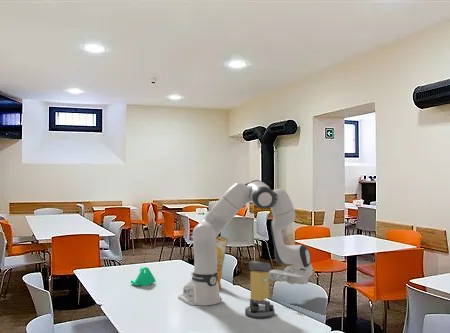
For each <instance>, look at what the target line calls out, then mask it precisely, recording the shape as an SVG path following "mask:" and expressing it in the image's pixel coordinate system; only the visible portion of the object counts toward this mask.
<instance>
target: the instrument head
mask: <svg viewBox="0 0 450 333" xmlns="http://www.w3.org/2000/svg"><path fill="white" fill-rule="evenodd" d="M248 268H249V270H250V299H253V303H258V304H259V305H264V306H265V302H267V301H268V300H266V299H269V298H270V287H269V286H270V284H269V280H270V279H269V271H270V270H272V269H271V268H272V267H271V264H270V262H264V261H256V260H250V261H249V262H248Z"/></svg>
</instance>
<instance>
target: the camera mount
mask: <svg viewBox="0 0 450 333" xmlns="http://www.w3.org/2000/svg"><path fill="white" fill-rule="evenodd" d="M154 283H156V278H155V277H154V275H153V273H152V271H151V270H150V269H149V267H147V266H144V265H143V266H141V267H140V268H139V273H138V274H137V277H136V278H135V279H130V284H132V285H134V286H140V287H146V286H150V284H154Z"/></svg>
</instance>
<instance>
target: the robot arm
mask: <svg viewBox="0 0 450 333" xmlns="http://www.w3.org/2000/svg"><path fill="white" fill-rule="evenodd" d="M249 202H251V203H252V204H253V205H254V206H256V208H259V209H268V208H270V210H271V214H272V217H273V218H272V220H271V221H270V231H271V232H270V233H271V238H272V242H273V243H272V244H273V247H274V248H273V249H274V259H275V261H276V262H277V263H278V264H279V265H281V266H283V265H288V266H286V267H285V268H284V269H283V270H281V269H270V271H269V280H273V281H276V282H280V283H281V282H286V283H288V284H289V285H294V284H297V285H305V284H306V285H307V284H308V283H309V277H311V276H312V274H313V272H314V269H313V268H314V267H313V265H312V263H311V262H312V256H311V252H310V249H309V248H308V247H307V246H306V245H305V244H293V245H292V244H290V245H289V244H285V243H284V239H283V238H284V237H283V233H282V231H283V230H284V229H286V228H289V227H290V226H291V225H292V224H293V223H294V221H295V220H296V211H295V208H294V206H293V202H292V200H291V198H290V196H289V194H288V192H287V191H286V190H285V189H283V188H275V189H272V188H270V186H269V185H268V184H266V183H265V182H263V181H261V180H257V179H256V180H252V181H250V182H247V183H243V182H235V183H234V184H233V185H232V186H230V187H229V188H228V189H227V190H226V191H225V192H224V194H222V196H221V197H220V198H219V199H218V200H217V201H216V203H215V204H214V205H213V206H212V207H211V208H210V210H209V211H208V212H207V214H205V216H204V218H203V219H201V221H200V222H199V223H198V224H197V225H195V226H194V228H193V230H192V243H193V244H192V247H193V256H194V257H193V258H194V259H193V260H194V262H193V266H194V268H193V272H192V273H190V276H192V277H191V279H190V281H188V282H187V283H185V285H184V286H183V292H182V294H179V295H178V299H179V300H181V302H182V301H183V302H185V304H188V305H189V306H212V305H216V304H219V303H221V298H222V297H221V295H220V289H219V285H218V282H217V280H218V272H217V254H216V237H217V236H219V235H220V234H221V233H222V231H223V230H224V229H225V228H226V227H227V226H228V225H229V224H230V222H231V221H232V220H233V219H234V218H235V216H236V215H237V214H238V213H239V211H241V209H242V208H243V207H244V206H245V205H246V204H248V203H249Z"/></svg>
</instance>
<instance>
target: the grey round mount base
mask: <svg viewBox="0 0 450 333" xmlns="http://www.w3.org/2000/svg"><path fill="white" fill-rule="evenodd" d="M266 301H267V302H265V305H262V304H258V303H253V299H251V298H249V306H246V308H245V310H244V314H245V316H246V317H248V318H250V319H255V320H267V319H271V318H273V317H275V312H276V310H275V308H274V305H273V304H271V301H268V300H266Z"/></svg>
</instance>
